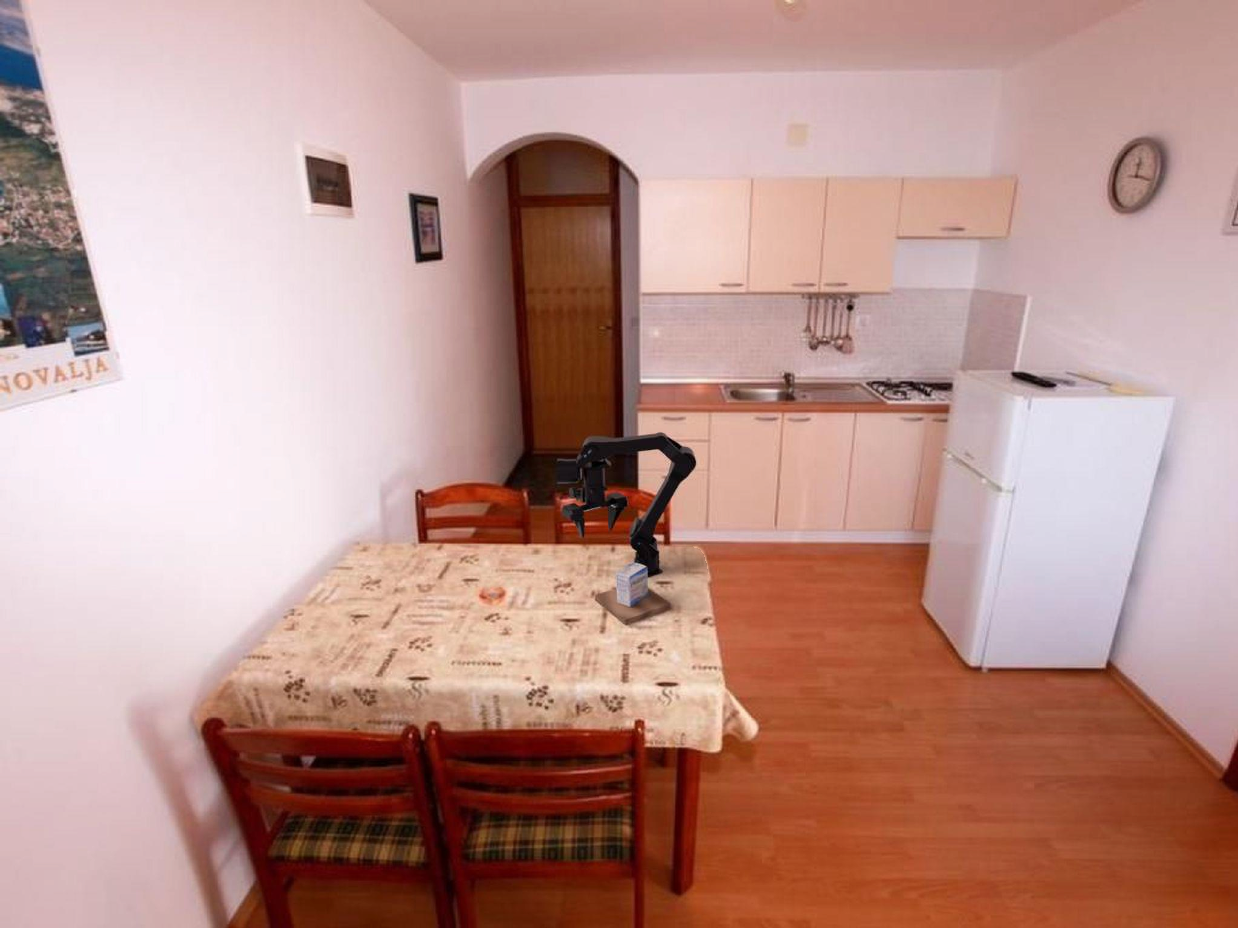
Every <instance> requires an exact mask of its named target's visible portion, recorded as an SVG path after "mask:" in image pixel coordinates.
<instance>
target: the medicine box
mask: <svg viewBox="0 0 1238 928" xmlns="http://www.w3.org/2000/svg"><path fill="white" fill-rule="evenodd" d="M615 577H616V578H615V579H616V581H615V583H616V588H617V602H618V603H620V604H623V605H625V606H628V607H632V606H633V605H634V604H636V603H637V602H639V601H640V600H642V599H643V598H644V597H646V596H647V595H648V588H649V587H648V586H649V585H648V581H649V580H648V578H649V577H648V573H647V566H644V565H641V564H638V563H634V562H632V564H630V565H628V566H626V567H625V568H623V569H622V570H620V571H618V572H616V574H615Z"/></svg>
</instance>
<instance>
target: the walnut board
mask: <svg viewBox="0 0 1238 928" xmlns="http://www.w3.org/2000/svg"><path fill="white" fill-rule="evenodd" d="M594 601H595V602H596V603H598V604H599V606H601V607H602V608H603V609H605V610H606V611H607V612H609V613H610V614H611V615H612V616H613V617H615V618H616V619H617V620H618V621H620V622H621V623H622V624H623V625H624V626H627V625H630V624H632V623H636V622H638V621H640V620H641V621H642V620H644V619H646V618H648V617H649V618H650V617H652V616H654V615H657V614H660V613H663V612H666V611H668V610H670V609H671V608H672V603H671V602H669V601H668V600H667V599H666V598H663V597H662V596H661V595H660V594H658V593H657V592H655V591H654V590H653V589H651V588H650V587H648V595H647V596H646V597H644V598H643V599H642V600H640V601H639V602H637V603H636V604H634V605H633V606H632V607H628V606H625V605H623V604H620V603H618V602H617V587H616V588H612V589H609V590H606V591H603V592H601V593H598V594H594Z"/></svg>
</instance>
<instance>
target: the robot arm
mask: <svg viewBox="0 0 1238 928" xmlns="http://www.w3.org/2000/svg"><path fill="white" fill-rule="evenodd" d="M654 450H655V451H656V450H658V451H660V453H662V454H663V455H664V456H665V457H666V458H668V459H669V461H671V462H670V464H669V469H668V473H667V475H666V476H665V478H664V480H663V481H662V484H661V486H660V488H659V489H658V491H657V492H656V494H655V496H654V498H653V499H652V501H651V503H650V505H649V507H648V509H647V510H646V512H645V514H644V515H643V516H641V517H640V518H639V517H637V516H635V519H634V521H633V523H632V524H631V525H630V526H629V544H630V547H631V548H632V550H634V551H635V552H634V553H635V556H634V560H633V561H634V562H633V563H638V564H641V565H644V566H647V573H648V578H649V577H653V576H656V575H658V574H661V573H663V569H661V568H660V550H659V549H658V539H657V538H656V537H655V536H654V535H655V532H656V531H655V530H656V527H657V524H658V523H659V520H660V519H661V517H662V516H663V514H664V512H665V511H666V509H667V507H668V505H669V503H670V501H671V500H672V498H673V496H674V494H675V493H676V491H677V490H678V488H679V486H680V484H681V483H682V482H683V481H685V480H686V479H687V478H688V477H689V476H690V474H691V473H693V471H694V470H695V469H696V466H697V460H696V457H695V453H694V450H693V449H692V448H691V447H688V446H683V445H681V444H680V443H679V442H678V441H676V440H674V439H673V438H671V437H669V436H668V435H667V434H666V433H664V432H661V431H659V432H656V433H650V434H643V435H642V434H641V435H632V436H623V437H608V436H604V435H603V436H601V435H600V436H599V435H591V436H588V437H587V438H586V439H585V440H584V442H583V445H582V449H581V452H579V454H578V456H577V458H558V459H557V460H556V472H555V473H556V474H555V478H556V484H578V483H579V481H580V480H582V477H583V484H581V488H578V487H577V486H573V487H569V488H568V494H569V495H568V496H569V498H570V499H571V500H575V501H576V502H577V501H580V502H581V503H584V504H583V505H579V504H577V503H576V502H573V503H568V504H564V505H562V507H561V515H562V516H563V517H565V518H566V519H567V520H569V521H572V522H573V523H574V525H575V527H576V530H577V532H578V534H579V536H580V538H581V539H584V538H585V535H586V534H585V531H586V529H585V527H586V526H585V525H586V524H585V523H586V519H585V518H584V516H585V513H587V512H589V511H594V510H598V509H602V508H606V510H607V527H608V531H612V530H613V528H614V526H615V524H616V522H617V520H618V519H619V516H620V515H621V514H622V511H624V510H625V508H626V507H629V500H628V497H627V496H625V495H624V494H621V493H620V492H618V491H616V492H612V493H609V494H607V495H606V491H608V486H607V485H606V483H605V482H606V481H605V469H611V465H612V463H611V461H609V460H608V458H610V457H612V456H615V455H621V454H630V453H639V452H649V451H654ZM582 470H583V472H582Z"/></svg>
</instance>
